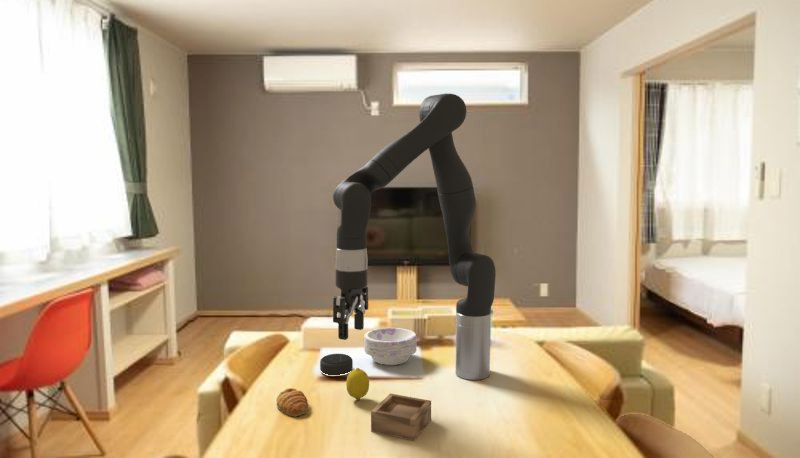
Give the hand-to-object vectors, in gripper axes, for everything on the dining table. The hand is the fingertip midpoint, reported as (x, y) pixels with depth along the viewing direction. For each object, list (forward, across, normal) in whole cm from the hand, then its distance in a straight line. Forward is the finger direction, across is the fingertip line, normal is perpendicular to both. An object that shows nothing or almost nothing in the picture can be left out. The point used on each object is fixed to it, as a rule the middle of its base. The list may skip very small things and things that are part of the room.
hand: (351, 334), depth 132 cm
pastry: (+17, -8, +11) cm, 22 cm away
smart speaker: (+17, +16, +12) cm, 26 cm away
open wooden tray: (+16, -8, -16) cm, 24 cm away
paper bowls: (+17, +29, +2) cm, 34 cm away
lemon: (+17, +1, -1) cm, 17 cm away
